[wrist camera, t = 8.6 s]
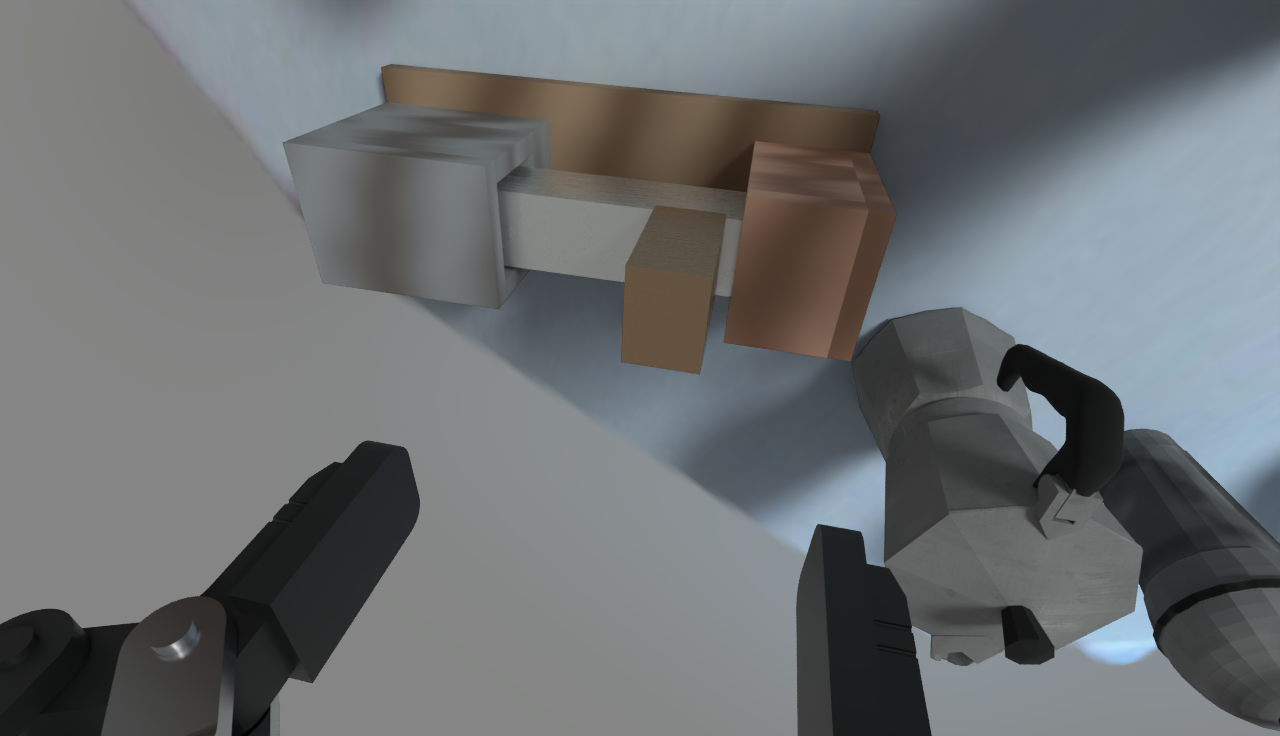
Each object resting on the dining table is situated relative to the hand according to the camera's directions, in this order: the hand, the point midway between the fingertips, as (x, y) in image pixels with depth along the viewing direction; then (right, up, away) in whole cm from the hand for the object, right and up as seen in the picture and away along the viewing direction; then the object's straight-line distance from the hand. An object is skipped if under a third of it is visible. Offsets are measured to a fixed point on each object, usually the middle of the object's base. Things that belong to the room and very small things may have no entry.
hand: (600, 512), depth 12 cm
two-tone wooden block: (+1, +10, +18) cm, 20 cm away
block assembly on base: (-1, +13, +21) cm, 25 cm away
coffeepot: (+18, +4, +24) cm, 30 cm away
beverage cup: (+31, -3, +25) cm, 40 cm away
